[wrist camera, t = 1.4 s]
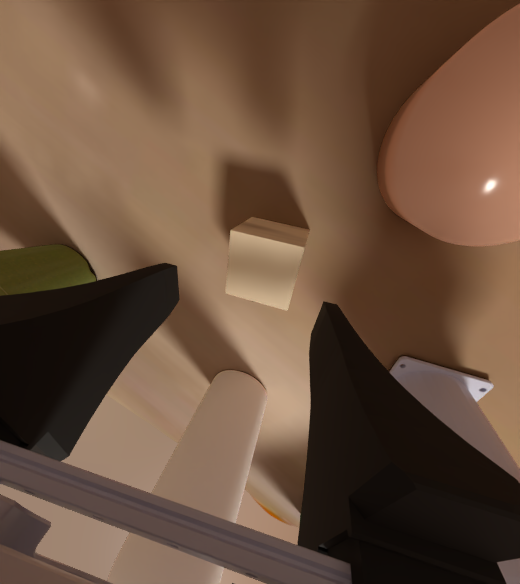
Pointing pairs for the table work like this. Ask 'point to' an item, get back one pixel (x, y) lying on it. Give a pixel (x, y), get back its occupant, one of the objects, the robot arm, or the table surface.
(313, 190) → the table surface
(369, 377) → the robot arm
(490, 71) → the salmon pink cylinder
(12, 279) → the plant pot
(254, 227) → the maple cube
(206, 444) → the bottle
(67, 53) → the table surface
